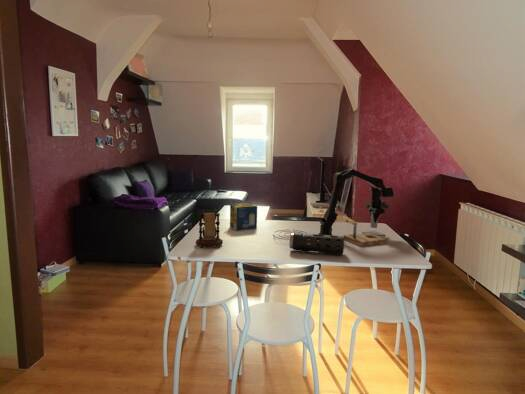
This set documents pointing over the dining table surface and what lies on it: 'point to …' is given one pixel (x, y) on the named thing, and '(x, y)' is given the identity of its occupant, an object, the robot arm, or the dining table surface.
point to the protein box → (243, 216)
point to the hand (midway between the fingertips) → (374, 221)
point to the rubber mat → (375, 233)
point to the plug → (373, 224)
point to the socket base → (365, 239)
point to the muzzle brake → (317, 243)
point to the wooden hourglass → (209, 230)
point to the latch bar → (353, 224)
